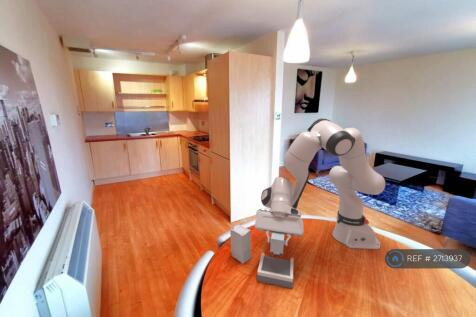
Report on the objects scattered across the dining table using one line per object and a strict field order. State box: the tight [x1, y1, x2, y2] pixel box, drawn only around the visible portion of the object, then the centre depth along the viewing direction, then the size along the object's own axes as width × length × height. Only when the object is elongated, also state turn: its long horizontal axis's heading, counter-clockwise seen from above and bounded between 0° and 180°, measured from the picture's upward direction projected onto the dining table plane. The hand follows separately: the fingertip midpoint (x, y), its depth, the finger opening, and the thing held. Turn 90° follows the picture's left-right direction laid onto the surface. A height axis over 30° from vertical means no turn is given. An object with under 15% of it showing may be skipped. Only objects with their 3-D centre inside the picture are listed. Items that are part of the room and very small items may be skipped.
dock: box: [256, 252, 294, 289], centre depth 90 cm, size 14×12×4 cm
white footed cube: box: [269, 232, 285, 258], centre depth 87 cm, size 5×6×8 cm
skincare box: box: [229, 224, 252, 265], centre depth 99 cm, size 8×6×15 cm
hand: (277, 244), depth 86 cm, fingers closed on white footed cube, 5 cm apart
